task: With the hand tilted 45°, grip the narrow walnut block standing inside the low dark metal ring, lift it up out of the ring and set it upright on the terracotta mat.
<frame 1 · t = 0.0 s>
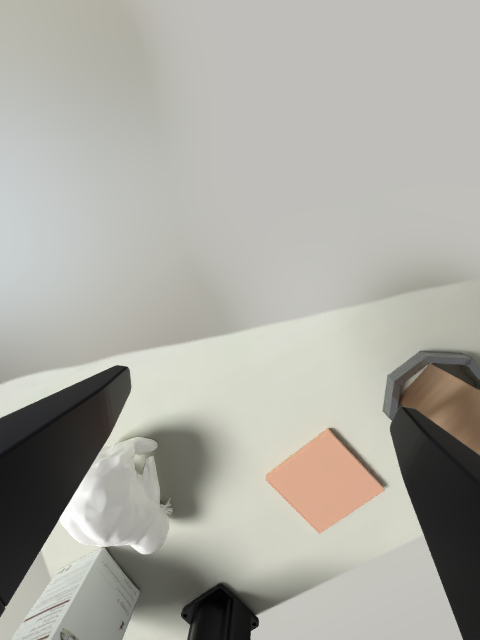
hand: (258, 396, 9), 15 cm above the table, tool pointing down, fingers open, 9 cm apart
supplement box: (100, 576, 31), on the table
terracotta mat: (323, 480, 27), on the table
walnut block: (469, 424, 20), in the metal ring
metal ring: (432, 396, 24), on the table
white lumpy piece: (145, 472, 28), on the table
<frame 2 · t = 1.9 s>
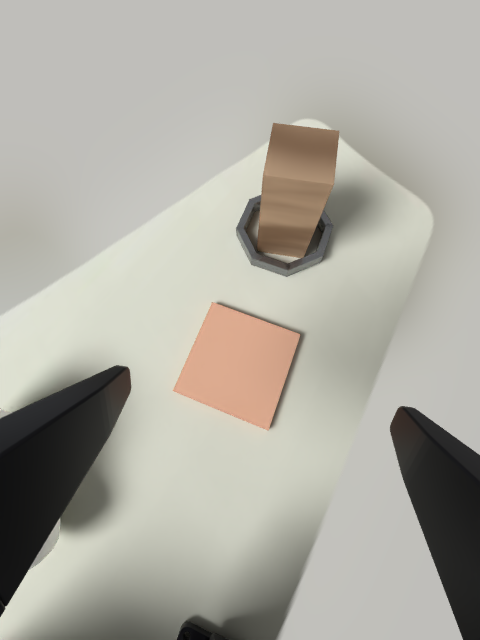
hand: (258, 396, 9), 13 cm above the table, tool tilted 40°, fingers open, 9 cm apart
terracotta mat: (238, 362, 22), on the table
walnut block: (290, 201, 22), in the metal ring
metal ring: (282, 234, 26), on the table
white lumpy piece: (25, 473, 21), on the table
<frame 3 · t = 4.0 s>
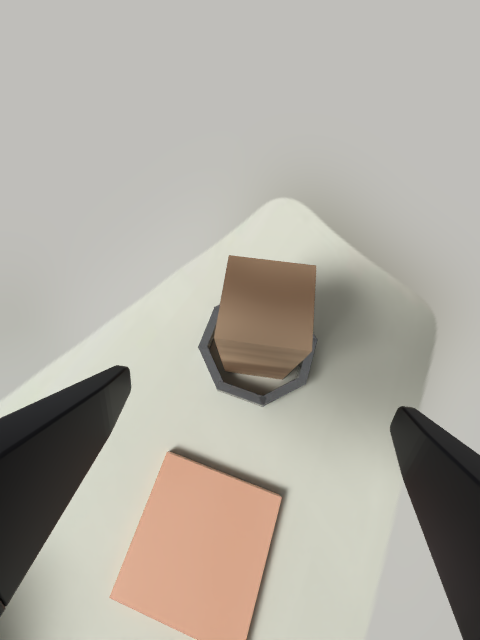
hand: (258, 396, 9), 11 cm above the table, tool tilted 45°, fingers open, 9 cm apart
terracotta mat: (201, 540, 17), on the table
walnut block: (261, 329, 17), in the metal ring
metal ring: (257, 347, 21), on the table
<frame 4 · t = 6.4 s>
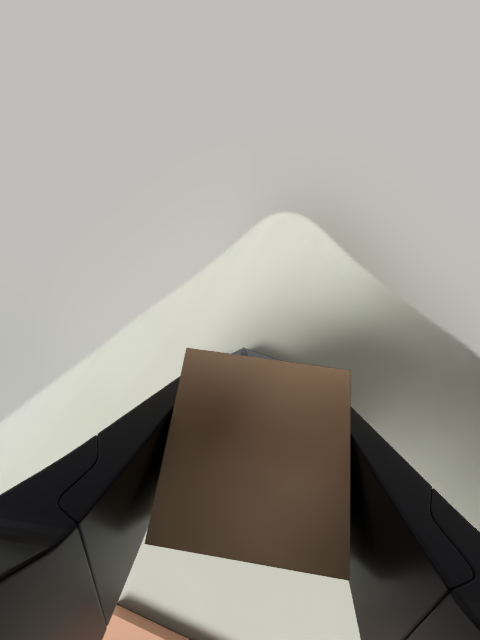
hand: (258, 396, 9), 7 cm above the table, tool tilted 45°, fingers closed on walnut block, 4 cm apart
walnut block: (251, 436, 11), in the metal ring, touching gripper
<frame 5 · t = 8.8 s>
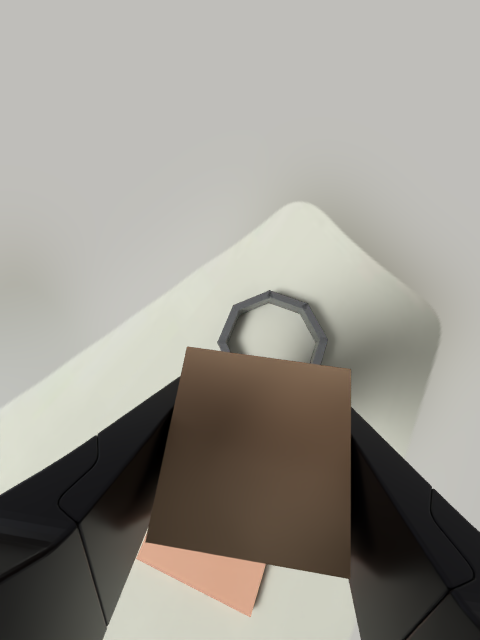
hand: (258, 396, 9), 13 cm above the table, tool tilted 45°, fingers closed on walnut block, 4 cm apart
terracotta mat: (216, 515, 19), on the table
walnut block: (251, 435, 11), point 11 cm above the table, touching gripper
metal ring: (271, 344, 23), on the table
when the fingers open (9 cm above the table, at t = 11.2 s): walnut block drops 1 cm, resting on terracotta mat.
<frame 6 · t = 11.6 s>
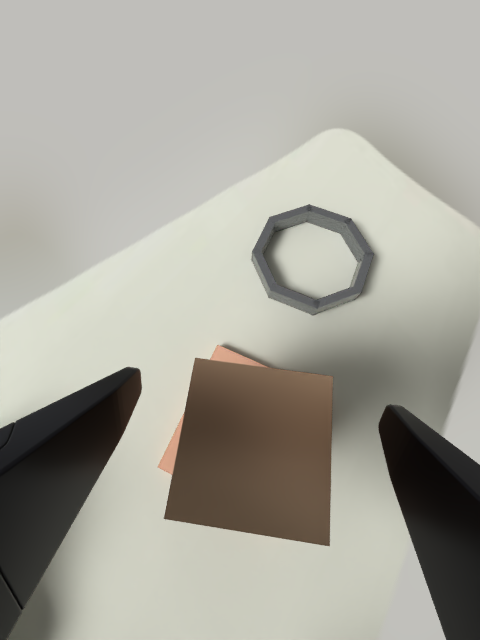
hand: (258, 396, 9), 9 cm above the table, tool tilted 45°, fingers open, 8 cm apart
terracotta mat: (248, 429, 17), on the table
walnut block: (250, 433, 12), on the terracotta mat, point 5 cm above the table
metal ring: (308, 261, 21), on the table
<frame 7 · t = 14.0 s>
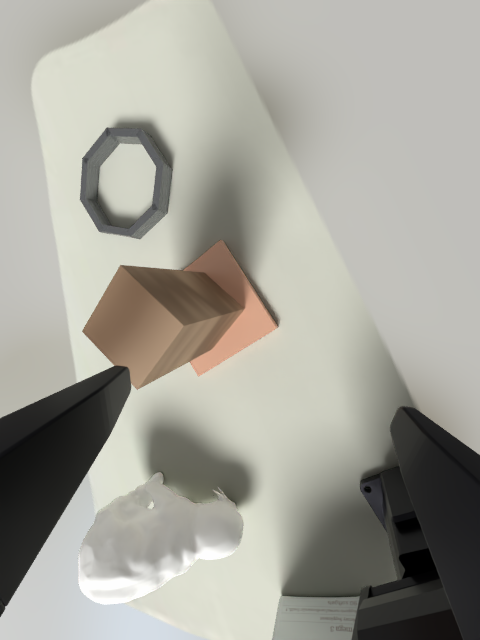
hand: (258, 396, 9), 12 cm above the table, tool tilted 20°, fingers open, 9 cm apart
supplement box: (334, 630, 23), on the table
terracotta mat: (212, 310, 22), on the table
walnut block: (178, 318, 18), on the terracotta mat, point 5 cm above the table
metal ring: (129, 187, 23), on the table
white lumpy piece: (193, 498, 26), on the table
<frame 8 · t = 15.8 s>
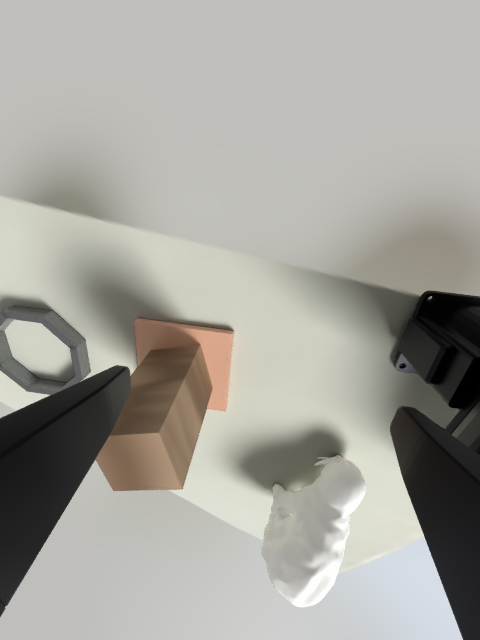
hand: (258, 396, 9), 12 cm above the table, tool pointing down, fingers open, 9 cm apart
terracotta mat: (184, 365, 24), on the table
walnut block: (163, 406, 19), on the terracotta mat, point 5 cm above the table
metal ring: (44, 349, 24), on the table
white lumpy piece: (312, 477, 28), on the table
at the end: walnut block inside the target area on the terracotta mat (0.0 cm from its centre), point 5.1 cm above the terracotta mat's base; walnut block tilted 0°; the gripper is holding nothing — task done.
